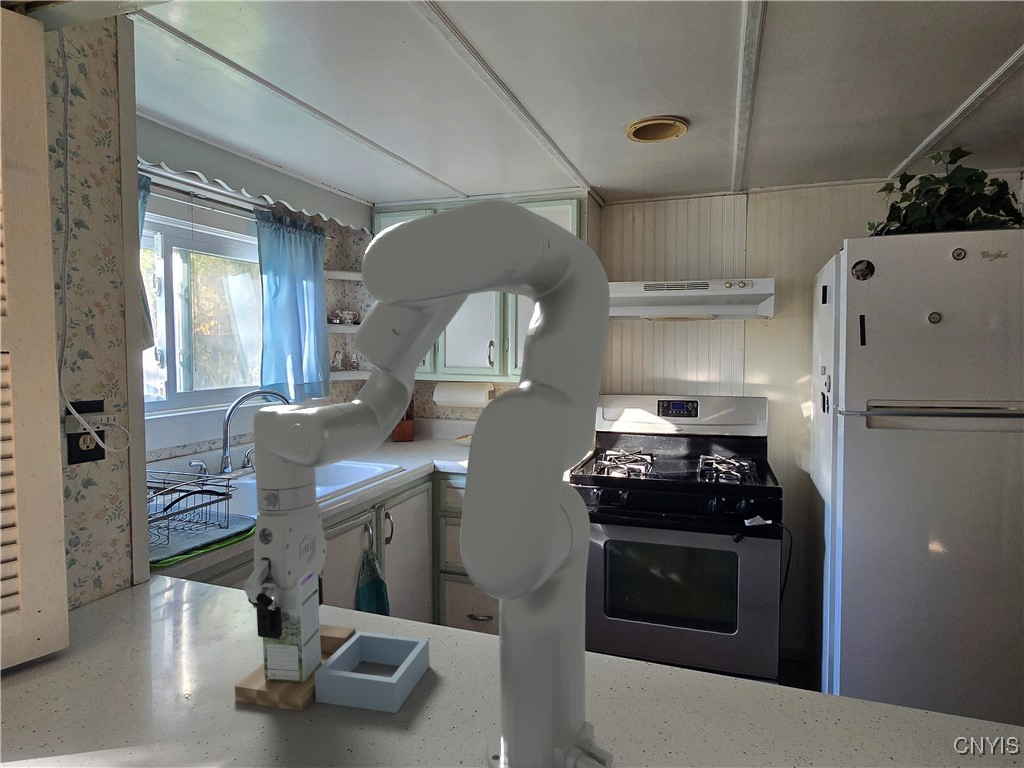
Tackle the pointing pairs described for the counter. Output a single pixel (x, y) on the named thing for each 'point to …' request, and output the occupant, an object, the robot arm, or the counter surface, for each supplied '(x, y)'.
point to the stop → (334, 638)
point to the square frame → (372, 690)
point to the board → (277, 690)
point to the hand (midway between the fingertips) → (292, 619)
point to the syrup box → (295, 633)
